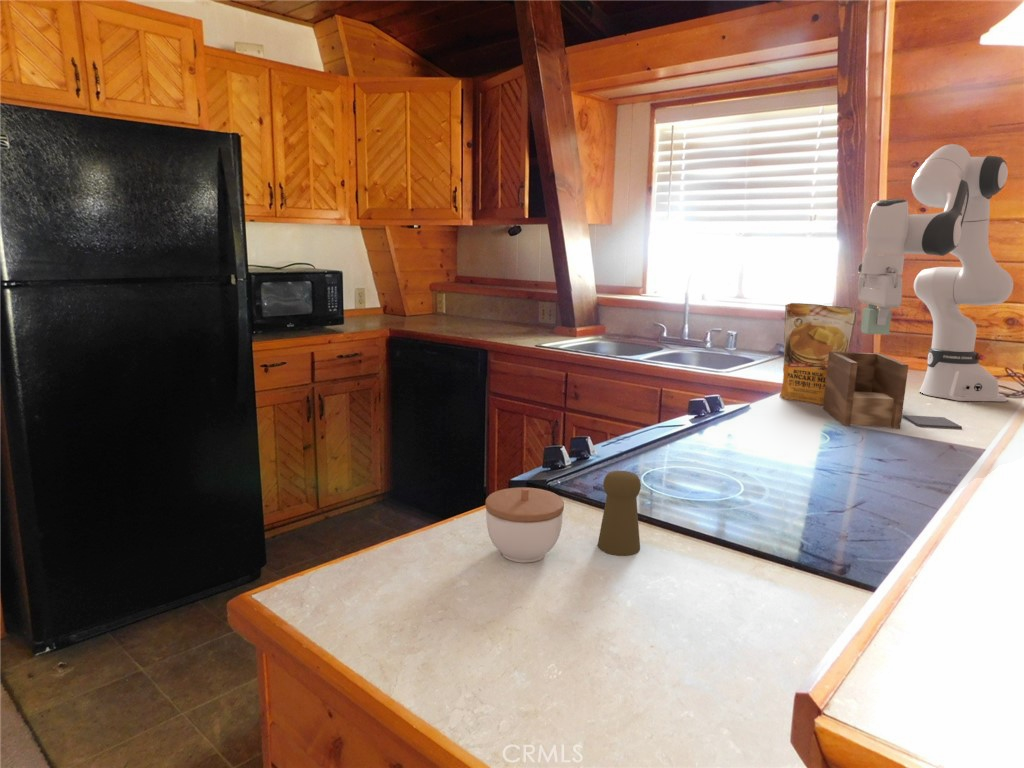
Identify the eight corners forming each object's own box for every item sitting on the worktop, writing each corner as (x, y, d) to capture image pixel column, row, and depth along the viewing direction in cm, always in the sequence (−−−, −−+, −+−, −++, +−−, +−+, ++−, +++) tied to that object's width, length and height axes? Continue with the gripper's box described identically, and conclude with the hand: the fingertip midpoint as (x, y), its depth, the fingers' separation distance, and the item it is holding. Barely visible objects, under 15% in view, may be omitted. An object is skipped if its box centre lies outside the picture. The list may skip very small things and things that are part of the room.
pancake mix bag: (781, 394, 206) (790, 302, 201) (847, 405, 193) (858, 306, 188) (771, 397, 202) (780, 303, 196) (838, 408, 188) (849, 307, 183)
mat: (943, 419, 178) (944, 417, 178) (961, 429, 168) (961, 426, 168) (902, 417, 179) (902, 415, 179) (917, 426, 170) (918, 424, 170)
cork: (622, 535, 101) (626, 464, 99) (649, 550, 96) (653, 476, 94) (589, 542, 98) (592, 469, 96) (614, 559, 93) (618, 482, 91)
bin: (873, 411, 186) (880, 353, 183) (900, 429, 167) (908, 364, 164) (822, 408, 188) (829, 351, 185) (843, 425, 169) (851, 362, 166)
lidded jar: (537, 532, 101) (539, 472, 100) (577, 561, 92) (579, 495, 90) (472, 545, 96) (472, 482, 95) (507, 577, 87) (508, 508, 85)
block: (881, 332, 171) (884, 308, 170) (888, 334, 167) (891, 310, 165) (860, 331, 172) (863, 308, 171) (867, 334, 167) (869, 309, 166)
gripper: (913, 268, 156) (905, 328, 158) (881, 266, 175) (875, 319, 178) (883, 268, 157) (876, 327, 159) (855, 265, 177) (850, 319, 179)
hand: (875, 323), depth 169 cm, fingers closed on block, 5 cm apart
